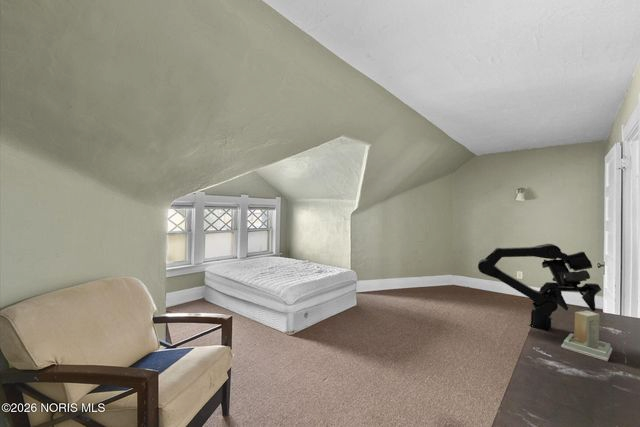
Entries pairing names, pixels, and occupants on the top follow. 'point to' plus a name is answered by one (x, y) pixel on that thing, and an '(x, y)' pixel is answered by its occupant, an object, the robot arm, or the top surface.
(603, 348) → the dock
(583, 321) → the skincare box
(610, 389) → the top surface
